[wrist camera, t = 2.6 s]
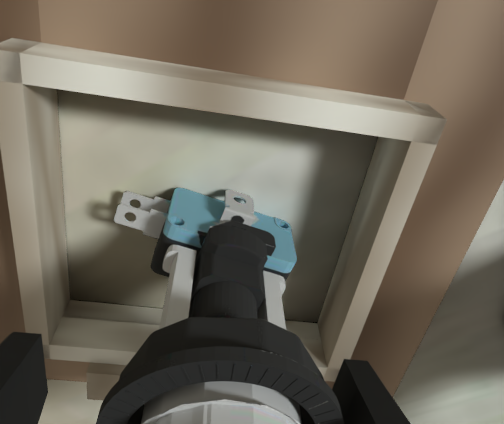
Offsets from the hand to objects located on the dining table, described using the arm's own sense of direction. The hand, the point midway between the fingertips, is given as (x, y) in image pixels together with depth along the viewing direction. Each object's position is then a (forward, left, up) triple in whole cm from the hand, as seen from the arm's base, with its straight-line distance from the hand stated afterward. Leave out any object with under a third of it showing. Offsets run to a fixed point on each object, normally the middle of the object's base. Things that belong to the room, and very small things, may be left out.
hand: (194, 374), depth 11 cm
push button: (0, 0, -8) cm, 8 cm away
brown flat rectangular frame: (0, 0, -7) cm, 7 cm away
